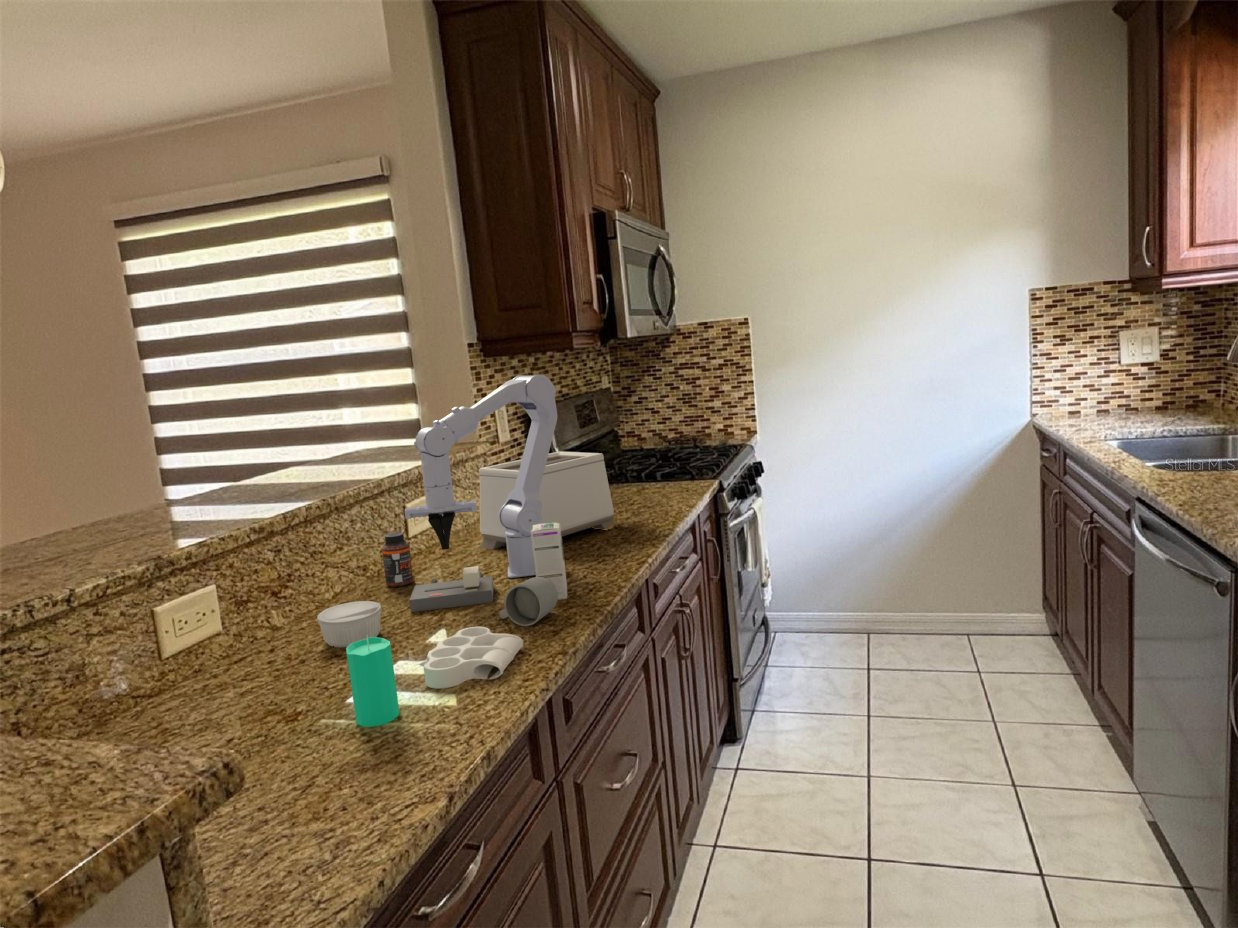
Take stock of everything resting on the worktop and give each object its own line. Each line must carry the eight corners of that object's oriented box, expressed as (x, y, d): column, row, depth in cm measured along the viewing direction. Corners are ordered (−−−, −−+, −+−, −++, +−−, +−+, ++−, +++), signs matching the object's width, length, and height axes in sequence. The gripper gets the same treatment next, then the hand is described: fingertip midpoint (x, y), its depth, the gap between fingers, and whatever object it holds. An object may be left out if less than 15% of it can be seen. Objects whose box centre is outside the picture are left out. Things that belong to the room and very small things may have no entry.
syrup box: (567, 599, 156) (560, 527, 154) (537, 602, 155) (530, 530, 153) (567, 590, 161) (560, 521, 159) (538, 593, 161) (531, 524, 159)
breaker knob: (480, 579, 165) (478, 566, 164) (479, 585, 160) (477, 572, 159) (465, 580, 164) (463, 567, 164) (464, 587, 159) (462, 574, 159)
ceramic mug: (562, 611, 149) (557, 572, 148) (543, 627, 141) (538, 585, 140) (512, 610, 152) (507, 572, 151) (491, 625, 145) (486, 585, 144)
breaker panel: (494, 576, 176) (493, 564, 176) (492, 602, 158) (491, 589, 158) (421, 584, 174) (419, 573, 174) (410, 612, 156) (409, 599, 156)
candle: (361, 709, 114) (350, 629, 112) (403, 704, 114) (393, 625, 112) (351, 729, 108) (338, 645, 106) (395, 723, 108) (384, 640, 106)
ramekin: (358, 652, 137) (354, 623, 136) (306, 648, 141) (302, 620, 140) (397, 628, 147) (393, 601, 147) (348, 626, 151) (344, 599, 151)
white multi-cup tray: (495, 691, 117) (403, 691, 120) (529, 644, 135) (448, 645, 137) (493, 669, 117) (400, 670, 119) (527, 625, 134) (446, 626, 137)
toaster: (624, 525, 216) (618, 450, 213) (529, 556, 191) (520, 472, 188) (575, 519, 229) (568, 448, 226) (480, 547, 204) (471, 469, 201)
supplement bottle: (406, 587, 173) (399, 537, 172) (381, 588, 175) (374, 538, 173) (418, 579, 179) (412, 530, 178) (394, 579, 181) (387, 531, 179)
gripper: (399, 491, 159) (408, 557, 161) (472, 484, 161) (479, 548, 163) (404, 486, 166) (412, 548, 168) (474, 478, 168) (481, 540, 170)
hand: (445, 548), depth 166 cm, fingers closed
